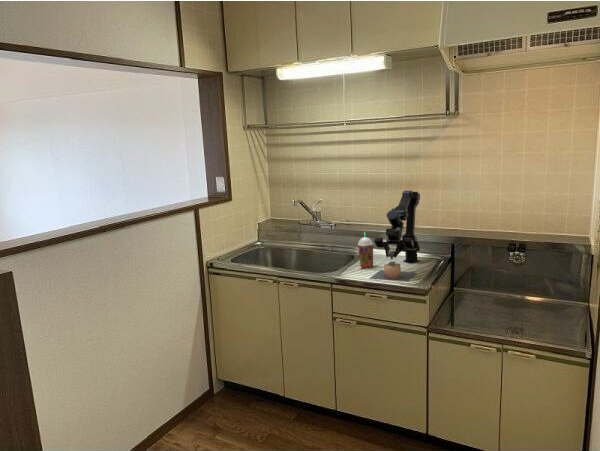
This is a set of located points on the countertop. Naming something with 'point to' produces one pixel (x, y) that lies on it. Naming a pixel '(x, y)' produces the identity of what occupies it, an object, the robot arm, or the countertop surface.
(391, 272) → the pump bottle
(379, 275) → the drip mat
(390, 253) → the pump head
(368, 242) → the smoothie
